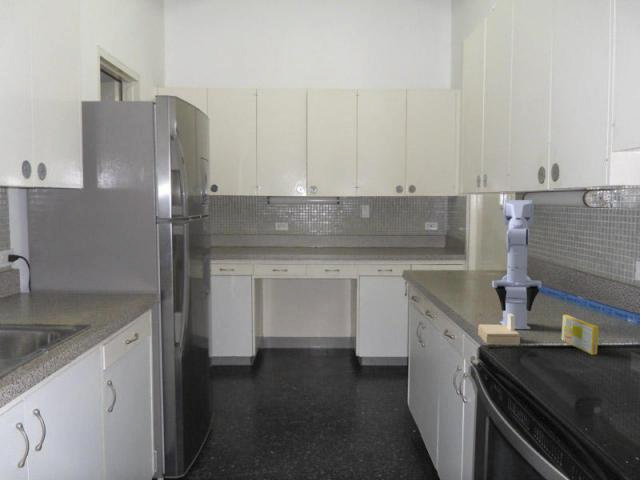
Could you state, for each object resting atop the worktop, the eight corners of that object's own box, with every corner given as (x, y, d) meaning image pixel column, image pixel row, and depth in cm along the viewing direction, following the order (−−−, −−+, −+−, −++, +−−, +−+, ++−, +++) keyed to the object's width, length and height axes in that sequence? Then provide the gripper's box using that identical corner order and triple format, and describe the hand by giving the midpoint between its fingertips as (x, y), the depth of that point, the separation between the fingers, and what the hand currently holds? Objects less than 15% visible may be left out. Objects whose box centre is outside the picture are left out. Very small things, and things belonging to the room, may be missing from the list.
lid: (479, 326, 179) (479, 310, 179) (509, 326, 179) (509, 310, 178) (487, 335, 168) (487, 318, 167) (519, 335, 167) (519, 319, 167)
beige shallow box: (478, 334, 180) (478, 326, 180) (509, 334, 179) (509, 327, 179) (486, 344, 168) (486, 336, 168) (519, 345, 167) (520, 336, 167)
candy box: (598, 355, 157) (599, 326, 156) (591, 355, 157) (592, 326, 156) (567, 339, 173) (568, 314, 172) (560, 340, 173) (561, 314, 172)
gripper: (496, 268, 166) (495, 313, 167) (545, 268, 165) (544, 313, 166) (490, 265, 173) (489, 307, 174) (537, 265, 172) (536, 308, 173)
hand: (516, 310), depth 171 cm, fingers open, 7 cm apart
